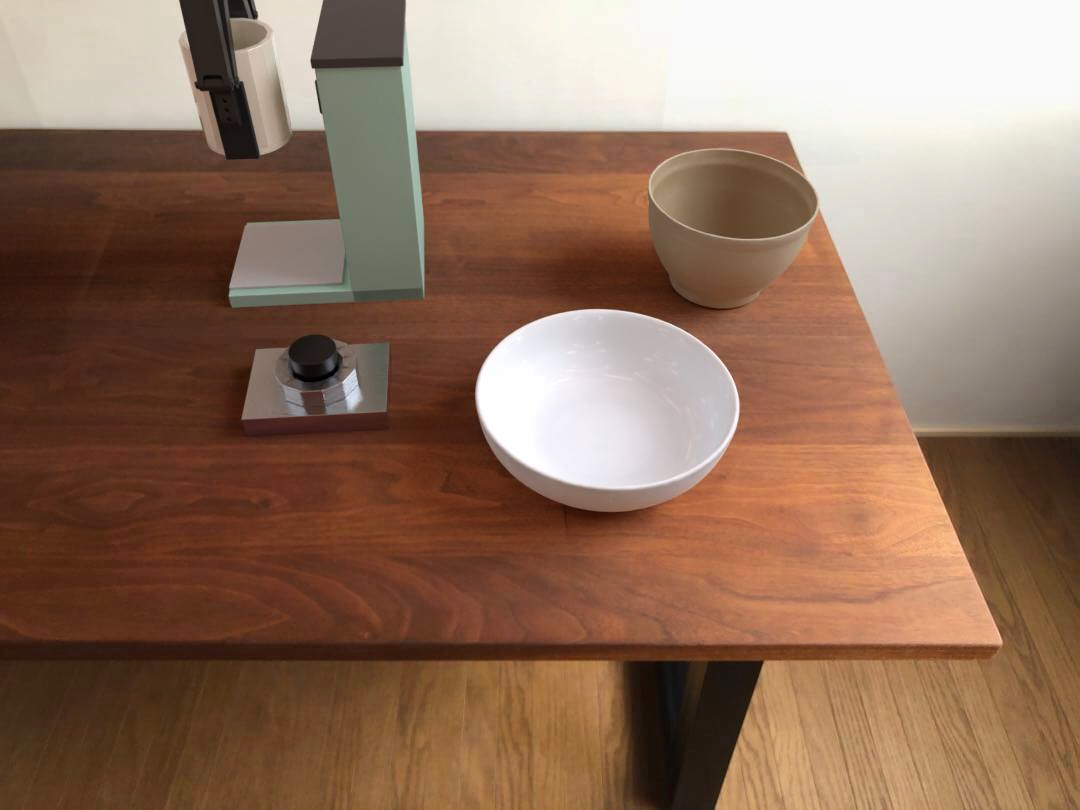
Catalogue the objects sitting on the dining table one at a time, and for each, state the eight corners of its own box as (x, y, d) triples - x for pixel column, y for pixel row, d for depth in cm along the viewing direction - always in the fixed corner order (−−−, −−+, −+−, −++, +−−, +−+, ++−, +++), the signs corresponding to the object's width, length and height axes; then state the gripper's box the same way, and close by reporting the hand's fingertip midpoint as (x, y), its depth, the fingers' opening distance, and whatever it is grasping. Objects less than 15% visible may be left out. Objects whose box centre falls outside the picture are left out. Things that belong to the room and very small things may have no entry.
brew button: (289, 384, 75) (285, 366, 74) (294, 353, 78) (290, 335, 77) (337, 381, 76) (334, 363, 74) (341, 350, 79) (337, 332, 77)
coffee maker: (231, 309, 88) (159, 63, 71) (250, 233, 98) (190, -1, 80) (426, 300, 90) (402, 56, 72) (426, 226, 99) (405, -5, 82)
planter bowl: (647, 333, 86) (659, 238, 79) (630, 238, 98) (639, 147, 90) (811, 332, 87) (839, 238, 79) (776, 238, 98) (797, 147, 91)
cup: (199, 158, 77) (170, 55, 70) (214, 118, 82) (188, 18, 75) (287, 156, 77) (266, 53, 71) (296, 116, 82) (277, 16, 76)
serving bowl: (752, 540, 69) (769, 482, 64) (481, 553, 68) (477, 495, 63) (699, 360, 84) (710, 302, 79) (476, 369, 82) (473, 310, 78)
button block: (246, 437, 76) (236, 404, 73) (260, 366, 82) (251, 333, 80) (389, 429, 77) (383, 396, 74) (391, 360, 83) (387, 326, 80)
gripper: (208, -126, 56) (279, 193, 72) (254, -197, 71) (304, 82, 87) (86, -125, 56) (184, 196, 72) (157, -197, 70) (225, 84, 86)
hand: (250, 133), depth 79 cm, fingers closed on cup, 7 cm apart
